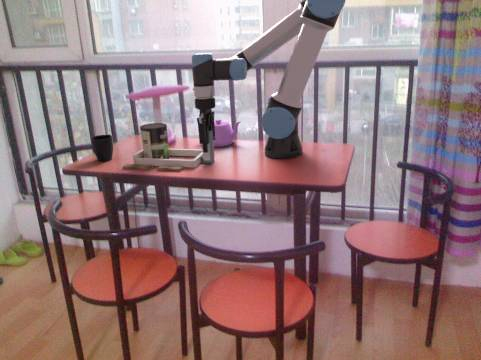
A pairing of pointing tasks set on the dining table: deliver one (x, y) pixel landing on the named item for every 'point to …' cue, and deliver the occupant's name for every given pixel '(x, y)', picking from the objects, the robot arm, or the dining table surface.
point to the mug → (103, 147)
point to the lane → (139, 156)
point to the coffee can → (155, 141)
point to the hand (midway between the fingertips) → (208, 158)
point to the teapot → (224, 133)
